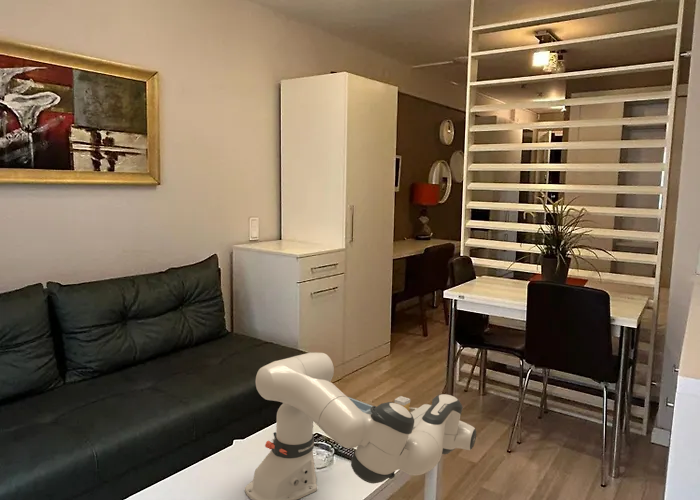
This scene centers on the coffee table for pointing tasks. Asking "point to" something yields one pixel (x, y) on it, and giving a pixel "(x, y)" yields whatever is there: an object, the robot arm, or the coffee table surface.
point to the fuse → (403, 402)
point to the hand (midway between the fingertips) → (399, 412)
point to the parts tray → (362, 406)
